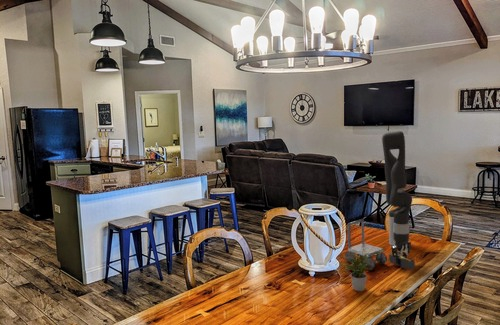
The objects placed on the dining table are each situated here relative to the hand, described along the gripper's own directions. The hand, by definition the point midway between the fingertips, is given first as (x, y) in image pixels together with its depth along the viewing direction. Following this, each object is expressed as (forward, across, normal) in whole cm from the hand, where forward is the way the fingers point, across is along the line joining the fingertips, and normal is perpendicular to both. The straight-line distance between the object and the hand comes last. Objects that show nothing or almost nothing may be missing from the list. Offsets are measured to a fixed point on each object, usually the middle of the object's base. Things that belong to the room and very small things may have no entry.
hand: (401, 263), depth 199 cm
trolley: (+1, +11, -14) cm, 18 cm away
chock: (+1, 0, 0) cm, 1 cm away
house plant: (+1, +37, +4) cm, 38 cm away
